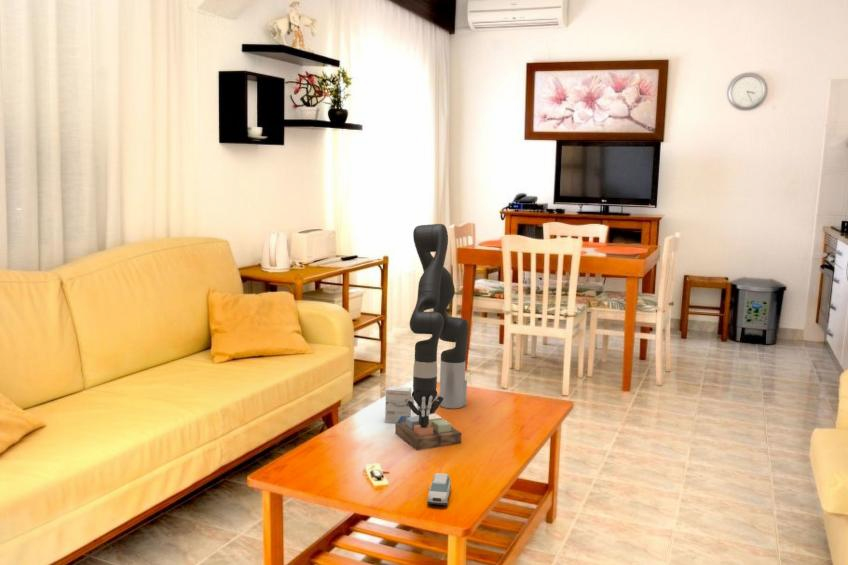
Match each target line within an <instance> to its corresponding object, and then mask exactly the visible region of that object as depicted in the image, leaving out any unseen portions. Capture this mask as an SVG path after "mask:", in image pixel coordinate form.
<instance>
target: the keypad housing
mask: <svg viewBox="0 0 848 565" xmlns="http://www.w3.org/2000/svg"><path fill="white" fill-rule="evenodd" d="M394 428H395V430H394V431H395V433H394V434H395V435H396V436H397V437H399V438H400V439H401V440H403V441H404V442H405V443H407V444H408V445H409V446H411V448H413V449H414V450H416V451H420V450H427V449H433V448H440V447H445V446H452V445H458V444H459V445H460V444H462V433H463V432H461V431H459V430H458V429H456V428H455V427H453V426H452V425H451V431H450V432H443V433H437V432H436V431H434V430H433V434H432V435H425V436H419V435H418V434H416V433H415V432H414V429H410V428H409V427H408V426H406V422H403V423H395V427H394Z"/></svg>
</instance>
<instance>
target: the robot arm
mask: <svg viewBox="0 0 848 565" xmlns="http://www.w3.org/2000/svg"><path fill="white" fill-rule="evenodd" d="M412 235H413V236H412V237H413V242H414V247H415V249H416V253H417V256H418V258H419V261H420V264H421V266H422V269H423V270H422V271H423V273H422V274H421V276H420V278H419V282H418V287H417V299H416V304H415V307H414V309H413V311H412V314H411V317H410V320H409V328H410V330H411V332H412V333H413V334H418V335H431V337H430V338H428V339H423V340H420V341H417V342H416V343H415V345H414V361H413V362H414V364H413V369H412V370H413V376H412V388H413V389H412V391H411V397H410V398H409V399H406V400H405V402H406V403H407V405H408V406H409V407H410V409H411V412H413V414H415V416H419V425H420V426H421V427H422V428H424V427H427V425H428V424H429V415H430V414H435V413H436V411H437V409H438V408H439V406H440V407H442V408H445V409H459V408H463V407H466V406H467V391H468V390H467V389H468V381H467V380H466V359H467V357H466V356H467V350H468V337H469V323H468V320H467V319H466V318H463V317H455V316H449V315H448V313H447V310H448V307H449V306H450V304H451V302H452V301H453V299H454V297H455V293H456V290H455V284H454V281H453V276H452V274H451V272H449V270H448V269H447V268H446V267H445V261H446V257H447V253H448V252H447V250H448V245H449V234H448V229H447V227H446V225H445V224H443V223H433V224H432V223H431V224H421V225H417V226H415V228H414V229H413V232H412ZM432 253H434V256H433V255H432ZM432 309H433V310H432ZM428 310H432V311H428ZM439 341H442V342H448V343H454V344H455V345H454V347H453V348H451V349H446V350H443V351H442V352H441V353H440V365H439V368H440V370H439V394H438V390H437V387H438V386H437V385H438V383H437V382H438V360H437V359H438V347H439V346H438V344H439ZM415 403H416V405H417V406H416V405H415Z"/></svg>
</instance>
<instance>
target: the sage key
mask: <svg viewBox="0 0 848 565" xmlns="http://www.w3.org/2000/svg"><path fill="white" fill-rule="evenodd" d="M451 426H452V423H451V422H449V421H447V420H446V419H442V420H437V421H432V427H433V428H434V429H433V430H434V431H436V432H437V433H443V432H450V431H451Z"/></svg>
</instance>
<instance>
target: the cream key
mask: <svg viewBox="0 0 848 565" xmlns="http://www.w3.org/2000/svg"><path fill="white" fill-rule="evenodd" d="M437 420H443V417H441V416H440V415H439V414H437V413H432V414H430V415H429V424H428V425H430V426H431V427H432V421H437Z"/></svg>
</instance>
